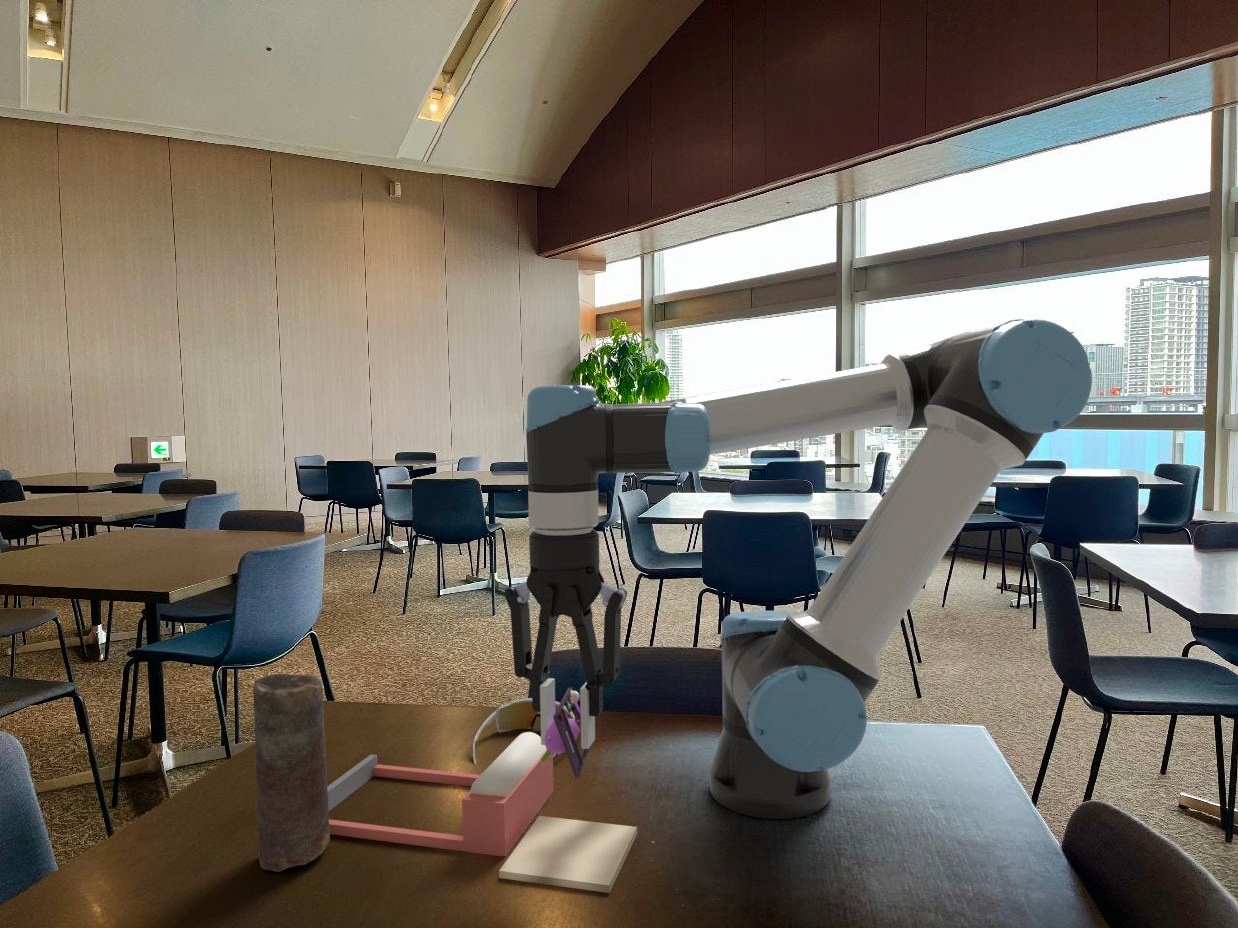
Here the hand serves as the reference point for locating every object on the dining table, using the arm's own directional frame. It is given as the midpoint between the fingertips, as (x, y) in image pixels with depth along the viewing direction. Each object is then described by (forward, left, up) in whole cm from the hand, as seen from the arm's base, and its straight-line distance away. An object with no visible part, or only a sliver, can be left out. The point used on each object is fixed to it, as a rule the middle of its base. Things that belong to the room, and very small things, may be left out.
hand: (568, 741), depth 89 cm
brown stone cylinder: (+30, +7, -13) cm, 33 cm away
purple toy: (0, +2, -1) cm, 3 cm away
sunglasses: (+16, -27, -13) cm, 34 cm away
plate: (0, 0, -13) cm, 13 cm away
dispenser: (+20, -6, -13) cm, 25 cm away
